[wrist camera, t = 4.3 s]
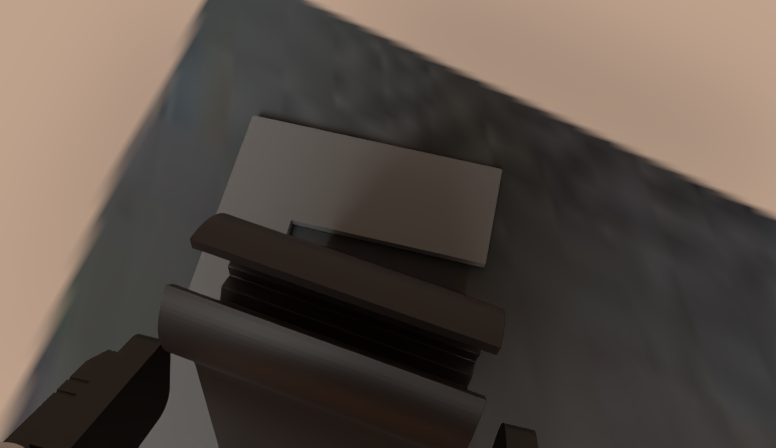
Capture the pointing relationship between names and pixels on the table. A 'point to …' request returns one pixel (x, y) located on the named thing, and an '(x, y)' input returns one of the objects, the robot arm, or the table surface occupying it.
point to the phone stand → (327, 346)
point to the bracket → (334, 222)
